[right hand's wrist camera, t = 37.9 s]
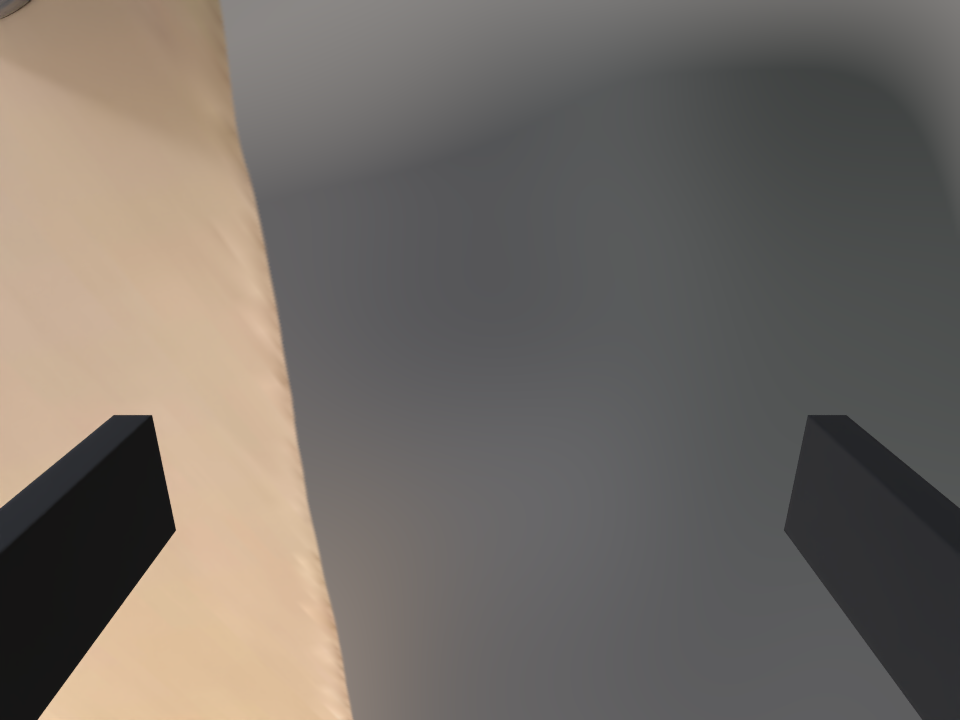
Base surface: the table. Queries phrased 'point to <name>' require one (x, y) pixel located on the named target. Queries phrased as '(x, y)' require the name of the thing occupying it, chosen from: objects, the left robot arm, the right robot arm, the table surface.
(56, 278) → the table surface
